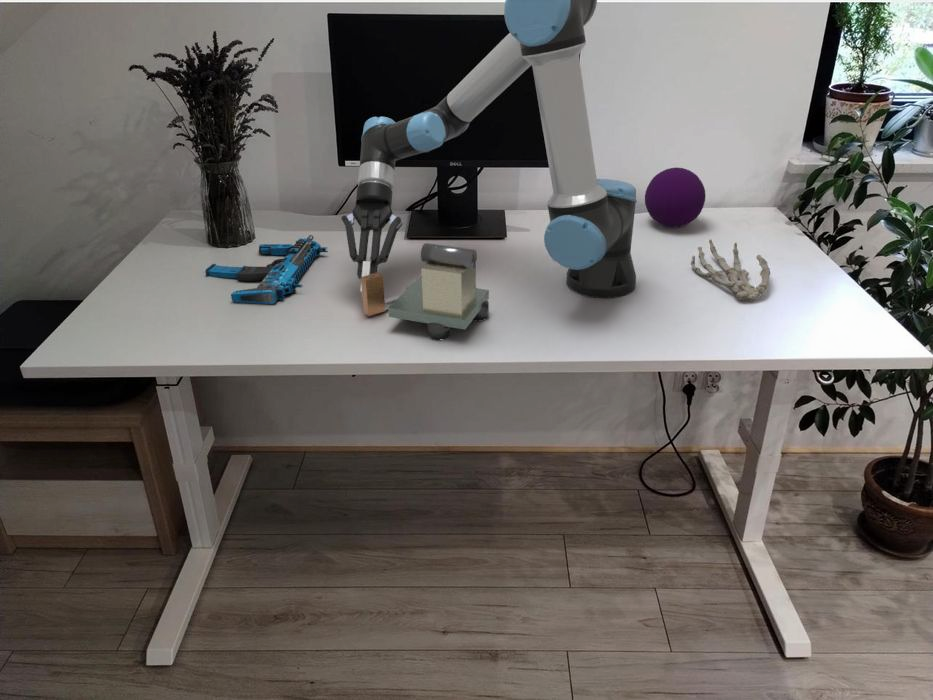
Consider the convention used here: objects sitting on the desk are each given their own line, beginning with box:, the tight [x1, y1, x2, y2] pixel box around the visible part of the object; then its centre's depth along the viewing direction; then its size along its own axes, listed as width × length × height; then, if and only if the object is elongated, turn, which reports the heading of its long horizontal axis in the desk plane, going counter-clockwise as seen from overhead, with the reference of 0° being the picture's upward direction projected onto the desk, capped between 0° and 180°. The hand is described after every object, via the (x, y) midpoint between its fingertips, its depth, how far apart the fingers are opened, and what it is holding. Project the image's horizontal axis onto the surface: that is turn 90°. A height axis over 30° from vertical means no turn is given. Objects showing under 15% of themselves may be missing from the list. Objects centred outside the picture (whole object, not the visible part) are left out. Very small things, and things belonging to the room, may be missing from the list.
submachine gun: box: [204, 234, 329, 305], centre depth 182 cm, size 34×4×25 cm
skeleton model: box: [690, 239, 771, 302], centre depth 175 cm, size 24×13×5 cm, turn 19°
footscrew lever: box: [360, 271, 410, 317], centre depth 163 cm, size 15×5×8 cm, turn 126°
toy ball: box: [644, 167, 706, 228], centre depth 201 cm, size 15×15×15 cm
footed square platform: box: [387, 242, 490, 341], centre depth 155 cm, size 17×15×17 cm
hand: (365, 293), depth 162 cm, fingers closed
